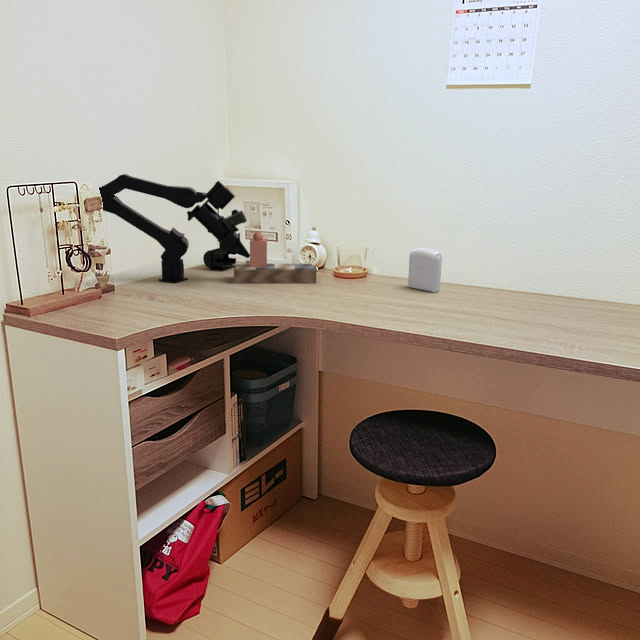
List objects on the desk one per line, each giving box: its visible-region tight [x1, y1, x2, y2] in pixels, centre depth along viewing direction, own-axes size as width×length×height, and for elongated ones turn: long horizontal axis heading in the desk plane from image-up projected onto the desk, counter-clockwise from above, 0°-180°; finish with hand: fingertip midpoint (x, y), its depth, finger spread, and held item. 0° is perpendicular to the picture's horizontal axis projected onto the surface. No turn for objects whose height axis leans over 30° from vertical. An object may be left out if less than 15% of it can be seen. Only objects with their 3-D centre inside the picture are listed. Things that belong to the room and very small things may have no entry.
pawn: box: [249, 231, 268, 267], centre depth 199 cm, size 5×5×10 cm
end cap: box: [202, 247, 237, 272], centre depth 218 cm, size 10×7×7 cm
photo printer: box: [407, 247, 443, 293], centre depth 193 cm, size 10×4×12 cm, turn 44°
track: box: [233, 262, 317, 284], centre depth 201 cm, size 25×9×4 cm, turn 97°
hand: (249, 256), depth 199 cm, fingers closed
